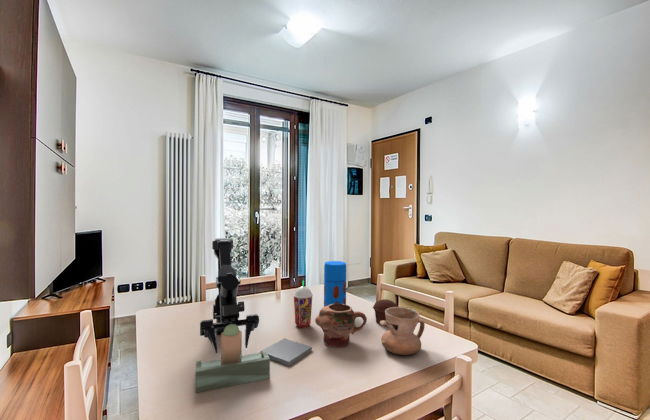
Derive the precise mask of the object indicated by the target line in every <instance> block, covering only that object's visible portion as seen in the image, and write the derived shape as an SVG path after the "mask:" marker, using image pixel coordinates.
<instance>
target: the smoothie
mask: <svg viewBox="0 0 650 420" xmlns="http://www.w3.org/2000/svg"><path fill="white" fill-rule="evenodd" d="M301 283H302V284H301V285H302V286H299V287H297V288H296V290H295V291H294V293H293V305H294V307H293V309H294V323H295V325H296V327H298V328H300V329H303V328H304V329H305V328H308V327H309V326H310V324H311V320H312V305H313V293H312V292H311V289H310V288H309V287H308V286H305V280H302V282H301Z"/></svg>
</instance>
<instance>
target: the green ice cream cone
mask: <svg viewBox="0 0 650 420" xmlns="http://www.w3.org/2000/svg"><path fill="white" fill-rule="evenodd" d="M242 334H243V333H242V331H241V330H240V328H239V326H237V325H235V324H229V325H227V326H226V327H225V329H224V332H222V333H221V334H220V359H221V365H225V364H231V363H236V362H242V356H243V355H242V354H243V353H242V352H243V351H242V349H243V340H242V338H243V335H242Z"/></svg>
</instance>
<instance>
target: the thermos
mask: <svg viewBox="0 0 650 420" xmlns="http://www.w3.org/2000/svg"><path fill="white" fill-rule="evenodd" d="M323 270H324V271H323V274H324V275H323V307H325V306H328V305H330V304H335V303H340V304H345V305H347V263H346V262H345V261H340V260H330V261H325V262H324V266H323Z"/></svg>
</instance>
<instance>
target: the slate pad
mask: <svg viewBox="0 0 650 420" xmlns="http://www.w3.org/2000/svg"><path fill="white" fill-rule="evenodd" d="M263 350H266V352H267V354H268V356H269V358H270V361H274V362H277V363H279V364H282V365H285V366H287V367H290V366H291V365H293V364H295V363H296V362H297V361H299V360H300V359H302V358H303V357H305V356H306V355H307V354H309V353H311V352H313V347H312V345H311V346H310V345H307V344H303V343H301V342H297V341H294V340H291V339H288V338H285V337H284V338H283V339H280V340H278V341H277V342H274V343H273V344H271V345H270V346H267V347H265V348H264V349H263ZM261 351H262V350H261ZM261 351H260V352H259V353H261Z"/></svg>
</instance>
